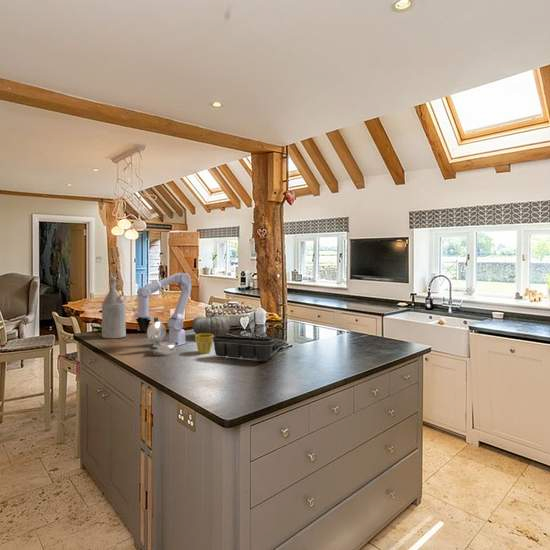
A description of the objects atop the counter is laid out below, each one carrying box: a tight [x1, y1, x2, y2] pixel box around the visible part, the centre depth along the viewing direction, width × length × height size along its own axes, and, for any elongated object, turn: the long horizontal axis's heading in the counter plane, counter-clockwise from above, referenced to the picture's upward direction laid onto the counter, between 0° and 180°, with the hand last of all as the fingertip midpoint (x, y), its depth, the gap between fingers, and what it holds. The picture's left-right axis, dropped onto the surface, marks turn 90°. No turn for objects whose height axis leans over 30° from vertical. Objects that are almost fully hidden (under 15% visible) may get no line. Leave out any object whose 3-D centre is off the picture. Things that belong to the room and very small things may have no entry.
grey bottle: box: [101, 276, 127, 339], centre depth 259 cm, size 13×17×40 cm
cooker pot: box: [149, 341, 179, 357], centre depth 219 cm, size 17×12×5 cm
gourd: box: [191, 311, 231, 336], centre depth 265 cm, size 25×25×17 cm
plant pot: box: [194, 334, 214, 355], centre depth 223 cm, size 10×10×10 cm
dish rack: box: [212, 329, 286, 360], centre depth 226 cm, size 34×44×12 cm
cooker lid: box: [146, 316, 167, 344], centre depth 223 cm, size 12×14×1 cm
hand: (143, 330), depth 229 cm, fingers open, 2 cm apart
